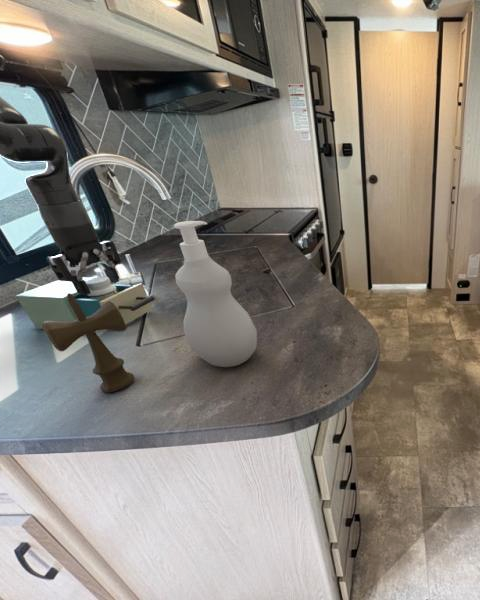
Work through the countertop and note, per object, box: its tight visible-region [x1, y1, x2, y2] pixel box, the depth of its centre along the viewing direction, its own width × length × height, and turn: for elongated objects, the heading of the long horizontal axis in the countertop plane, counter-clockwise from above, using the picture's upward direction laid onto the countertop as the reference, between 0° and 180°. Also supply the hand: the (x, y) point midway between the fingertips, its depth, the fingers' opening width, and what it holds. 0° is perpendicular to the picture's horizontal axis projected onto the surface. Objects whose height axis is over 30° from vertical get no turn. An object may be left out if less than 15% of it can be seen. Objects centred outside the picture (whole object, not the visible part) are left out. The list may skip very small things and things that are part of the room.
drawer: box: [67, 283, 155, 326], centre depth 82 cm, size 17×11×8 cm, turn 82°
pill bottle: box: [86, 276, 119, 301], centre depth 81 cm, size 6×6×10 cm
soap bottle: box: [173, 220, 258, 368], centre depth 62 cm, size 17×12×29 cm
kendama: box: [42, 293, 135, 393], centre depth 57 cm, size 6×10×20 cm, turn 143°
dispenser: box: [15, 276, 114, 330], centre depth 83 cm, size 14×12×10 cm
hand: (101, 287), depth 80 cm, fingers open, 7 cm apart
